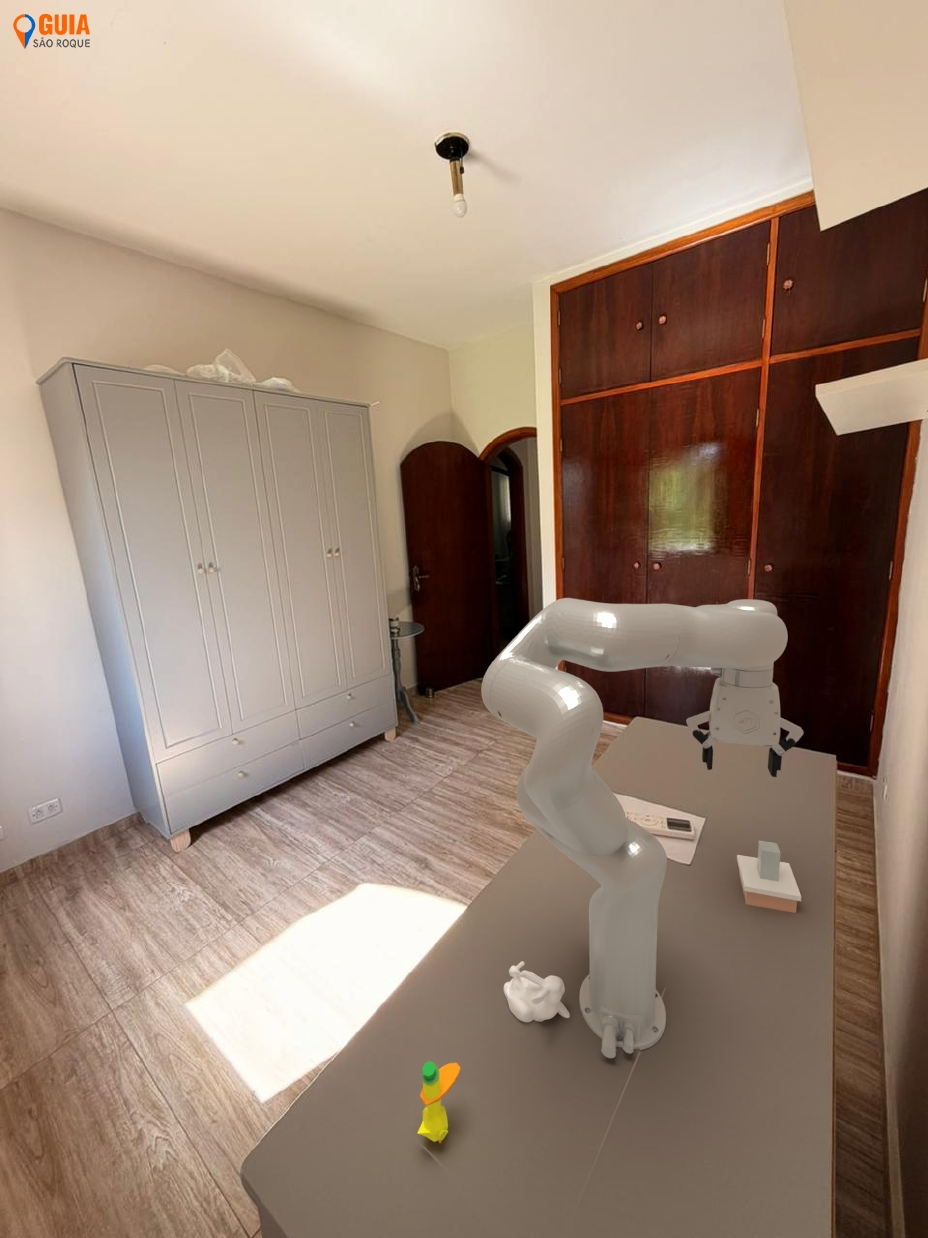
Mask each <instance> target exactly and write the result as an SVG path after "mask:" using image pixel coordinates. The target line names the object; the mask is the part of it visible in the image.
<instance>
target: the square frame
mask: <svg viewBox="0 0 928 1238" xmlns="http://www.w3.org/2000/svg"><path fill="white" fill-rule="evenodd" d="M738 875H739V876H738V877H739V880H740V885H741V888H742V891H743V897H744V900H745V901H744V902H745V905H746V906H753V907H758V908H764V909H769V910H777V911H781V912H782V911H783V912H789V913H795V914H797V910H798V909H797V905H798V901H796V900H791V899H785V898H780V897H775V896H769V895H764V894H759V893H753V892H748V891H744V888H743V883H742V879H741V875H740V871H739V874H738Z"/></svg>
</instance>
